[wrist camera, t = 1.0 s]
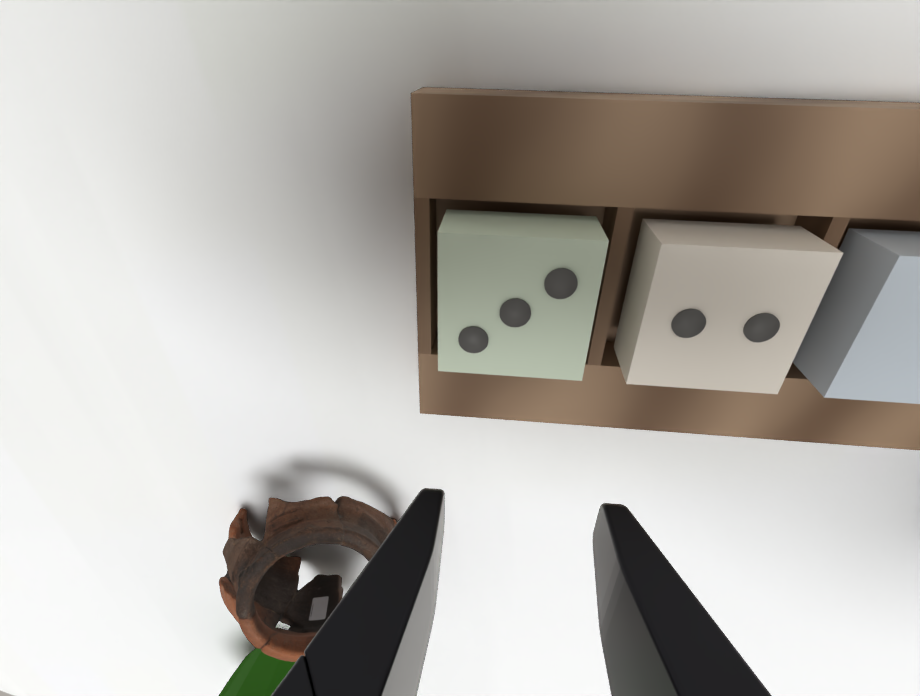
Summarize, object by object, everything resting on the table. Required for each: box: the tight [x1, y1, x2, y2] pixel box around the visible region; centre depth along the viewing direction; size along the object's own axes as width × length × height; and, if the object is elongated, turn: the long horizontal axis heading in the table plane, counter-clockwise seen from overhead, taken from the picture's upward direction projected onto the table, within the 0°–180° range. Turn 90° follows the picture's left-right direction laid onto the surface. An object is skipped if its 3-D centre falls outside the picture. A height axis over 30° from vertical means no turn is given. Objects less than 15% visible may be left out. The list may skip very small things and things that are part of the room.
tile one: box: [793, 228, 920, 404], centre depth 16 cm, size 5×5×2 cm
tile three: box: [438, 209, 609, 381], centre depth 16 cm, size 5×5×2 cm
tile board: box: [411, 87, 920, 450], centre depth 18 cm, size 20×12×2 cm, turn 89°
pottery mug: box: [219, 496, 397, 662], centre depth 27 cm, size 12×10×8 cm
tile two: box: [614, 219, 843, 394], centre depth 16 cm, size 5×5×2 cm
